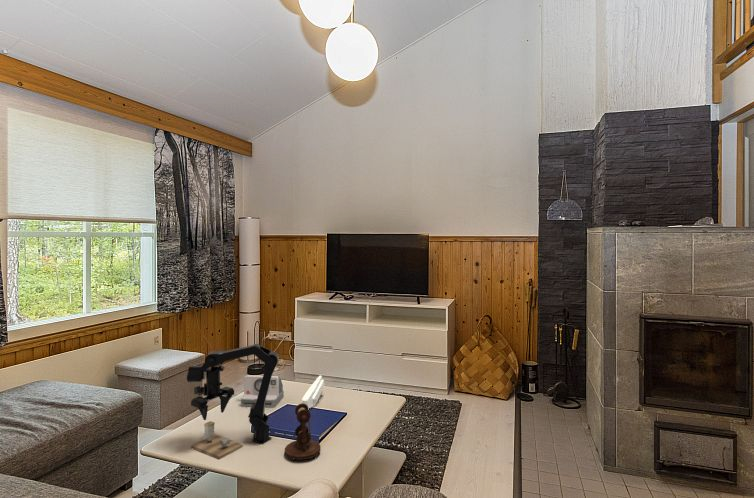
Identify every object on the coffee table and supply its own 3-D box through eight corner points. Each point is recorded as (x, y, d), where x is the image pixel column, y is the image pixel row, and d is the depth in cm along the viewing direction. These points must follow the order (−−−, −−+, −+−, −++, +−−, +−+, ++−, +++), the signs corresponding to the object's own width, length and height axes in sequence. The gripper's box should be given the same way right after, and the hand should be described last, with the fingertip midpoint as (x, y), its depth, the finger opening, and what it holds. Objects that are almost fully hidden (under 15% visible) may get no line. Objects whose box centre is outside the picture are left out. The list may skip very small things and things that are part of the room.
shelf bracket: (326, 395, 245) (325, 375, 242) (311, 422, 221) (309, 400, 218) (317, 395, 246) (316, 375, 243) (301, 421, 222) (299, 399, 220)
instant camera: (235, 406, 228) (235, 379, 228) (255, 393, 248) (255, 367, 248) (271, 410, 223) (271, 382, 223) (289, 396, 243) (289, 370, 243)
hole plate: (242, 447, 183) (242, 436, 183) (219, 459, 173) (219, 447, 173) (214, 437, 192) (214, 426, 192) (191, 448, 182) (191, 437, 182)
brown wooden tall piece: (323, 460, 172) (323, 411, 172) (286, 465, 168) (286, 415, 168) (317, 443, 186) (317, 398, 186) (283, 448, 182) (283, 401, 182)
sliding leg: (214, 440, 186) (214, 422, 186) (208, 443, 183) (208, 425, 183) (210, 439, 187) (210, 421, 187) (204, 442, 184) (204, 423, 184)
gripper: (218, 372, 198) (218, 405, 199) (182, 383, 182) (182, 420, 183) (234, 376, 193) (235, 410, 193) (199, 388, 177) (199, 425, 177)
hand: (213, 416), depth 187 cm, fingers open, 9 cm apart
